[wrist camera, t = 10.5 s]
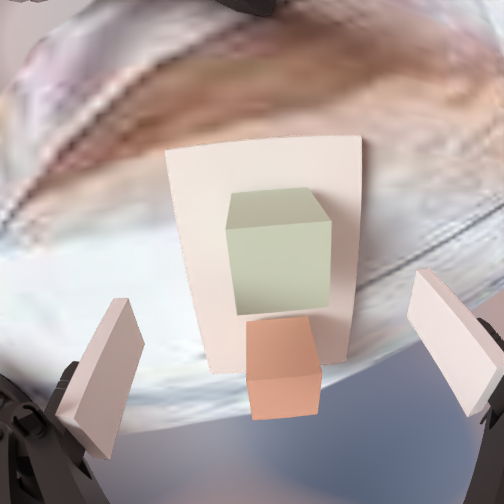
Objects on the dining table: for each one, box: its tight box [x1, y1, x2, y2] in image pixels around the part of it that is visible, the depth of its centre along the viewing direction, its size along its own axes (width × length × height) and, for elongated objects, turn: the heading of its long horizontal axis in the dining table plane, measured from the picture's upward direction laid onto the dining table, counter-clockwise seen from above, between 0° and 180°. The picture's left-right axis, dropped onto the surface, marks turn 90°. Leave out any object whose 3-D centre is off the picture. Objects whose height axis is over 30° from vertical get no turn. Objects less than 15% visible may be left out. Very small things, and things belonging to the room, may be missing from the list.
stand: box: [165, 134, 362, 420], centre depth 22 cm, size 14×22×9 cm, turn 5°
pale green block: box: [225, 187, 332, 315], centre depth 19 cm, size 5×5×7 cm
